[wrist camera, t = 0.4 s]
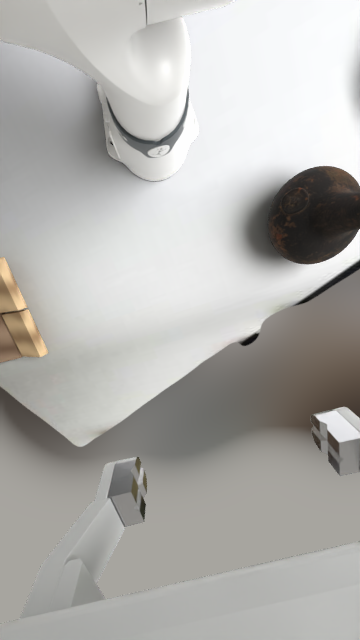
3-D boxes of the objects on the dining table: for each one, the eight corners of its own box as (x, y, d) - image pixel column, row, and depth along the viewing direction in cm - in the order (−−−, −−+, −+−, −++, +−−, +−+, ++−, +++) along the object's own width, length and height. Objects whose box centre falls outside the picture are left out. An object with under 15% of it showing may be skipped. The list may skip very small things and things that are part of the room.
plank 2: (10, 311, 53) (1, 314, 52) (28, 309, 49) (19, 312, 48) (30, 352, 57) (22, 356, 55) (48, 352, 53) (40, 357, 51)
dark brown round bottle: (281, 163, 48) (428, 53, 21) (348, 199, 51) (551, 142, 24) (244, 244, 52) (326, 239, 26) (307, 273, 55) (439, 294, 28)
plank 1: (-13, 264, 50) (-24, 265, 48) (4, 257, 46) (-7, 258, 44) (9, 310, 53) (0, 312, 52) (27, 307, 49) (18, 310, 48)
